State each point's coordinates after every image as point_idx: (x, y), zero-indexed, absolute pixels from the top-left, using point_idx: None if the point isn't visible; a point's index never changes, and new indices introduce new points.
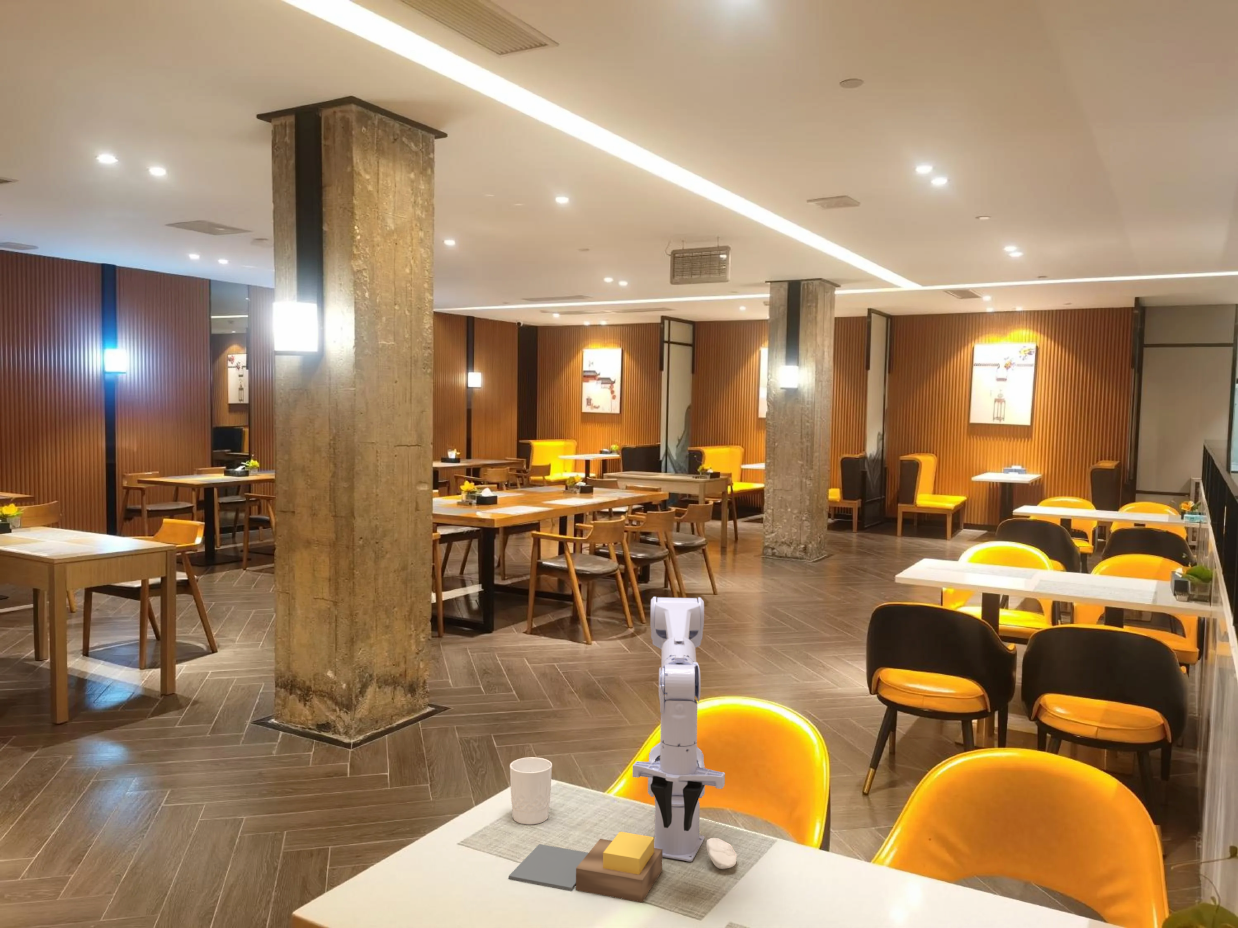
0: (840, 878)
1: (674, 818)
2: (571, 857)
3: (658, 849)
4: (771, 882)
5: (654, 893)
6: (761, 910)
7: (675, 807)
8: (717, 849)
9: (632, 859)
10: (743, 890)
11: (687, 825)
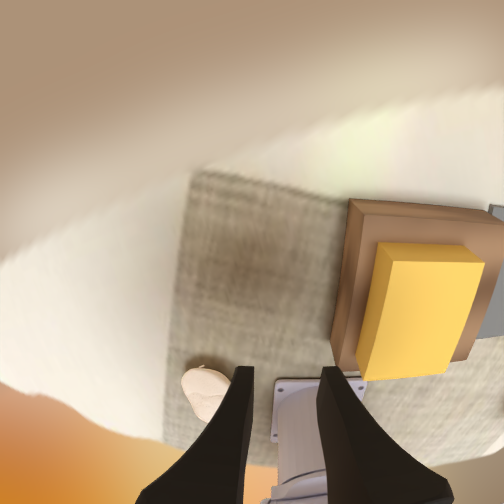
0: (46, 371)
1: (321, 446)
2: (495, 313)
3: (346, 367)
4: (115, 348)
5: (329, 246)
6: (92, 252)
7: (321, 469)
8: (216, 399)
9: (410, 258)
10: (147, 313)
11: (235, 378)
